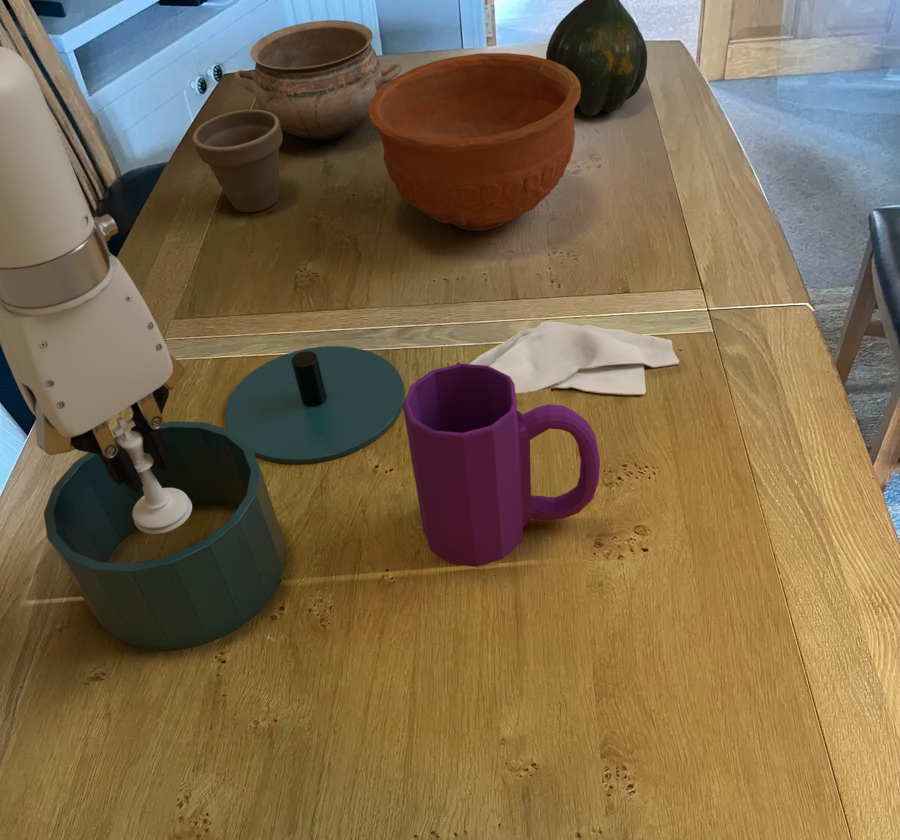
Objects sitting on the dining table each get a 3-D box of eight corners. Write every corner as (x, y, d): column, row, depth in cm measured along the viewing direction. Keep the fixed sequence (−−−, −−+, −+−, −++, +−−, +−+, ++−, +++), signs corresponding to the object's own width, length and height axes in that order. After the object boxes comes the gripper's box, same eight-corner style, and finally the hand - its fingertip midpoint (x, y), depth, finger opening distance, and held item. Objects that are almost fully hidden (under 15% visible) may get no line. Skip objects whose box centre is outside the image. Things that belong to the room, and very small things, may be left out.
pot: (70, 658, 79) (18, 580, 71) (115, 510, 90) (74, 429, 83) (276, 643, 78) (245, 561, 70) (294, 495, 89) (269, 412, 82)
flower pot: (203, 224, 126) (179, 149, 119) (226, 183, 133) (205, 110, 126) (285, 222, 124) (267, 145, 117) (304, 180, 132) (287, 106, 124)
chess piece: (204, 509, 78) (164, 414, 71) (155, 543, 76) (110, 449, 69) (170, 485, 81) (129, 390, 73) (122, 516, 79) (75, 423, 71)
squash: (541, 95, 130) (613, -10, 122) (515, 61, 140) (580, -38, 132) (613, 151, 137) (685, 55, 129) (583, 115, 147) (648, 24, 140)
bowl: (607, 240, 114) (612, 112, 102) (408, 284, 112) (390, 158, 100) (545, 155, 130) (543, 36, 118) (369, 192, 128) (350, 75, 116)
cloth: (669, 318, 102) (671, 299, 100) (686, 396, 93) (688, 377, 92) (433, 333, 105) (430, 315, 103) (427, 411, 96) (424, 393, 94)
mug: (423, 501, 87) (402, 367, 76) (591, 487, 86) (594, 349, 75) (424, 574, 81) (402, 440, 70) (604, 559, 80) (610, 422, 69)
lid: (216, 476, 92) (197, 427, 88) (239, 363, 104) (224, 314, 100) (404, 460, 91) (395, 409, 86) (406, 347, 103) (398, 297, 99)
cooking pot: (420, 102, 145) (409, 14, 136) (396, 159, 133) (383, 66, 124) (267, 107, 150) (247, 22, 140) (231, 163, 138) (207, 74, 128)
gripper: (119, 198, 66) (197, 406, 80) (-90, 302, 60) (35, 509, 74) (180, 228, 63) (250, 441, 77) (-36, 342, 56) (85, 552, 70)
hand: (144, 472), depth 75 cm, fingers closed on chess piece
